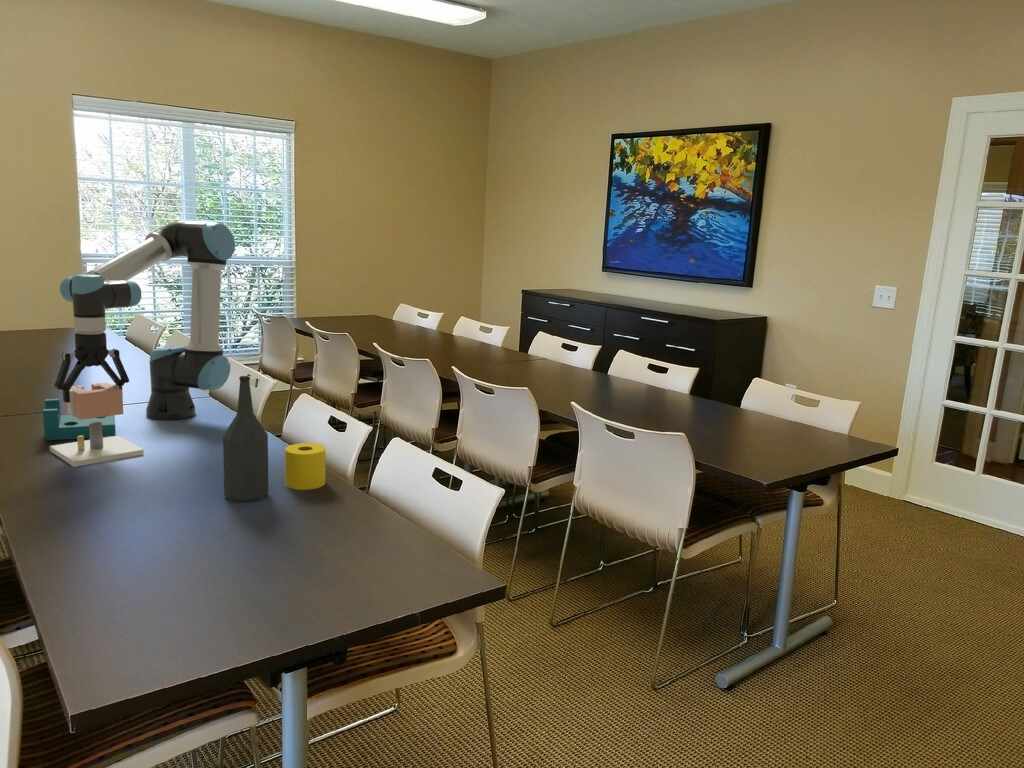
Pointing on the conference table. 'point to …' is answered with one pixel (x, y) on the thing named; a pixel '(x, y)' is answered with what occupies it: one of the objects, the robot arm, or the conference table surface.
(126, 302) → the robot arm
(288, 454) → the yellow toilet paper roll
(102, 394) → the orange arch block
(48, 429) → the teal l-shaped bracket
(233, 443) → the bottle
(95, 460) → the base
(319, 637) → the conference table surface
